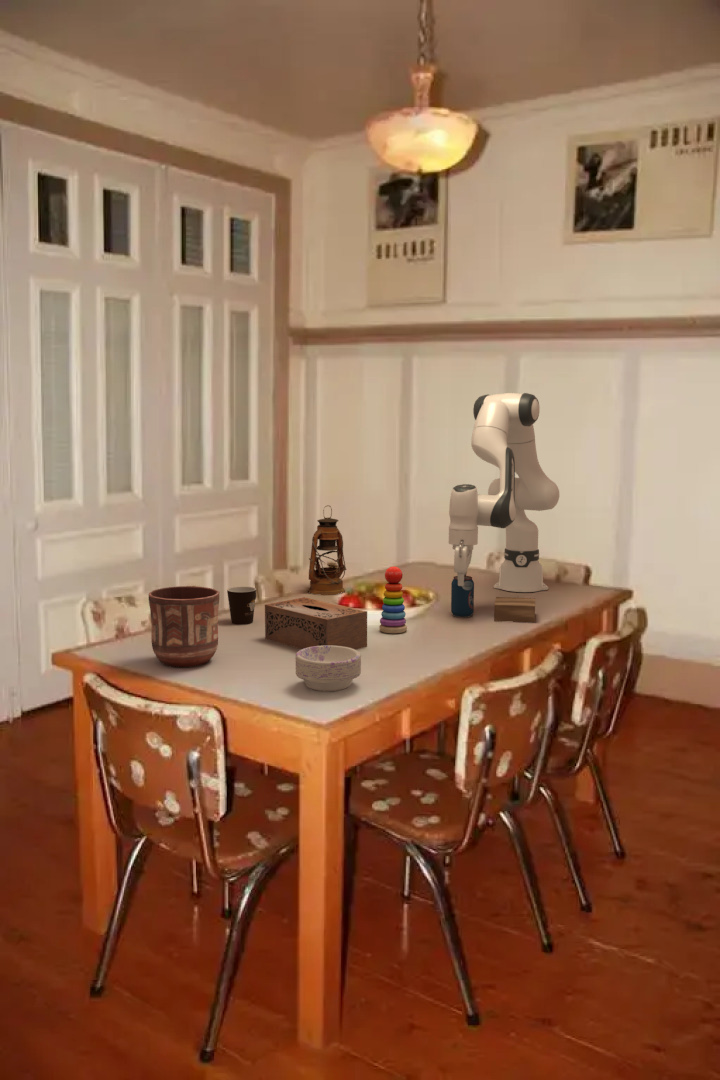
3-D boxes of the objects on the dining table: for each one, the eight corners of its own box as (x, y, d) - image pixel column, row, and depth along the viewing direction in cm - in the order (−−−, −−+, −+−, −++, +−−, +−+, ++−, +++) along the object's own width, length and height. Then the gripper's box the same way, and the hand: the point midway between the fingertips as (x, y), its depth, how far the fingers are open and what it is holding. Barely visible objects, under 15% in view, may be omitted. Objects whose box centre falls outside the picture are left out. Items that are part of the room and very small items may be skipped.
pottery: (152, 673, 237) (151, 601, 235) (147, 655, 254) (145, 587, 251) (225, 668, 242) (224, 597, 240) (215, 651, 259) (214, 584, 256)
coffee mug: (237, 626, 285) (237, 593, 284) (222, 621, 292) (221, 589, 291) (270, 621, 293) (270, 588, 291) (254, 616, 299) (254, 584, 298)
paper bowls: (346, 699, 218) (346, 664, 216) (284, 691, 223) (284, 657, 222) (370, 680, 232) (370, 648, 230) (312, 674, 237) (311, 642, 236)
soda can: (474, 618, 297) (475, 579, 296) (452, 618, 297) (452, 579, 296) (472, 613, 304) (472, 575, 302) (449, 613, 304) (450, 575, 302)
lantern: (330, 585, 349) (330, 502, 344) (356, 590, 340) (356, 504, 335) (295, 592, 336) (294, 505, 332) (322, 597, 328) (321, 508, 323)
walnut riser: (495, 612, 305) (496, 596, 304) (534, 614, 303) (535, 598, 302) (494, 621, 293) (494, 604, 292) (534, 622, 291) (535, 606, 290)
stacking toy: (411, 633, 278) (412, 568, 276) (385, 635, 275) (386, 570, 273) (400, 627, 286) (400, 563, 283) (375, 629, 283) (375, 565, 280)
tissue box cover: (265, 639, 272) (264, 604, 270) (304, 631, 282) (304, 597, 280) (327, 657, 253) (327, 619, 252) (367, 647, 263) (367, 611, 262)
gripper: (471, 543, 286) (470, 589, 288) (475, 534, 306) (474, 577, 308) (449, 542, 288) (448, 588, 289) (455, 533, 308) (454, 577, 309)
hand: (462, 582), depth 299 cm, fingers open, 8 cm apart
